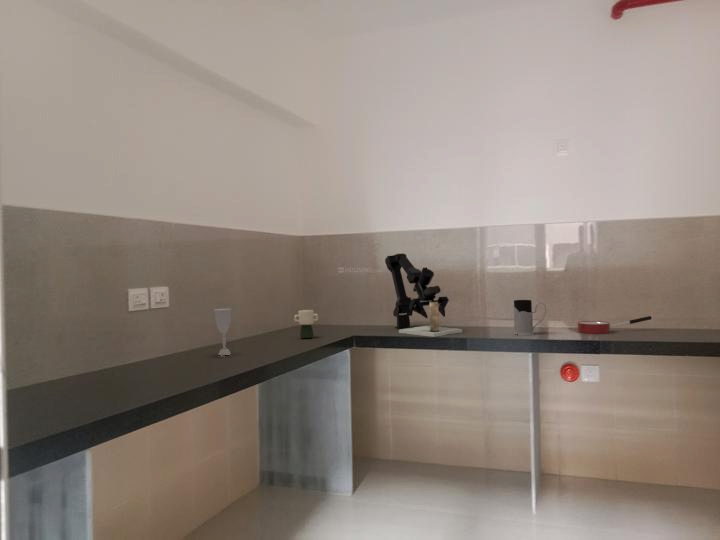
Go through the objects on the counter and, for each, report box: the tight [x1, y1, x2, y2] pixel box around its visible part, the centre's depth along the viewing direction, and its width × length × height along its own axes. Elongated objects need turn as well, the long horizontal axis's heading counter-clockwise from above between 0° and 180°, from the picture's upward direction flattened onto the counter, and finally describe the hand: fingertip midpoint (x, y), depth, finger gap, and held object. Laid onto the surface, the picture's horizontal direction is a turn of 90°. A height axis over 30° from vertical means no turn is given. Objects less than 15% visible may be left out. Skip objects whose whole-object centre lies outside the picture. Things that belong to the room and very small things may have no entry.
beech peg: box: [429, 302, 440, 332], centre depth 245 cm, size 4×4×15 cm
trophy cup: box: [293, 309, 319, 339], centre depth 248 cm, size 11×7×13 cm, turn 98°
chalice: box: [213, 308, 232, 357], centre depth 208 cm, size 7×7×18 cm
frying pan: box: [577, 315, 652, 335], centre depth 236 cm, size 32×13×6 cm, turn 96°
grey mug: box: [513, 299, 547, 336], centre depth 235 cm, size 9×14×15 cm, turn 78°
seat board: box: [398, 325, 463, 338], centre depth 253 cm, size 23×19×2 cm
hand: (435, 317), depth 243 cm, fingers open, 9 cm apart
